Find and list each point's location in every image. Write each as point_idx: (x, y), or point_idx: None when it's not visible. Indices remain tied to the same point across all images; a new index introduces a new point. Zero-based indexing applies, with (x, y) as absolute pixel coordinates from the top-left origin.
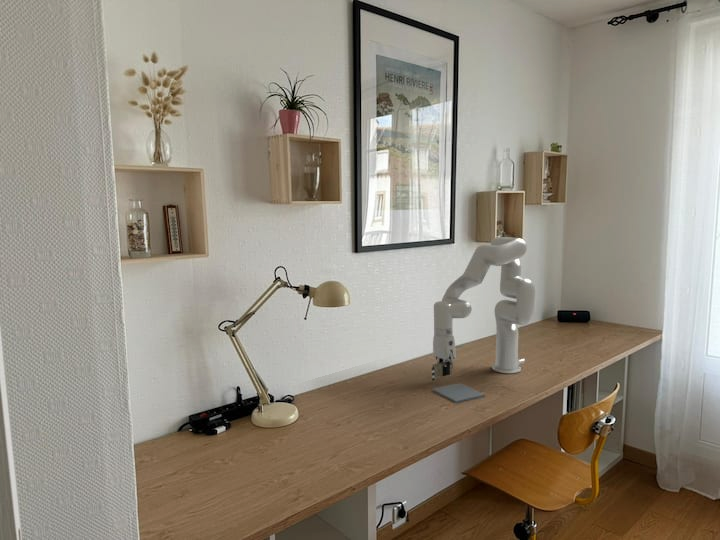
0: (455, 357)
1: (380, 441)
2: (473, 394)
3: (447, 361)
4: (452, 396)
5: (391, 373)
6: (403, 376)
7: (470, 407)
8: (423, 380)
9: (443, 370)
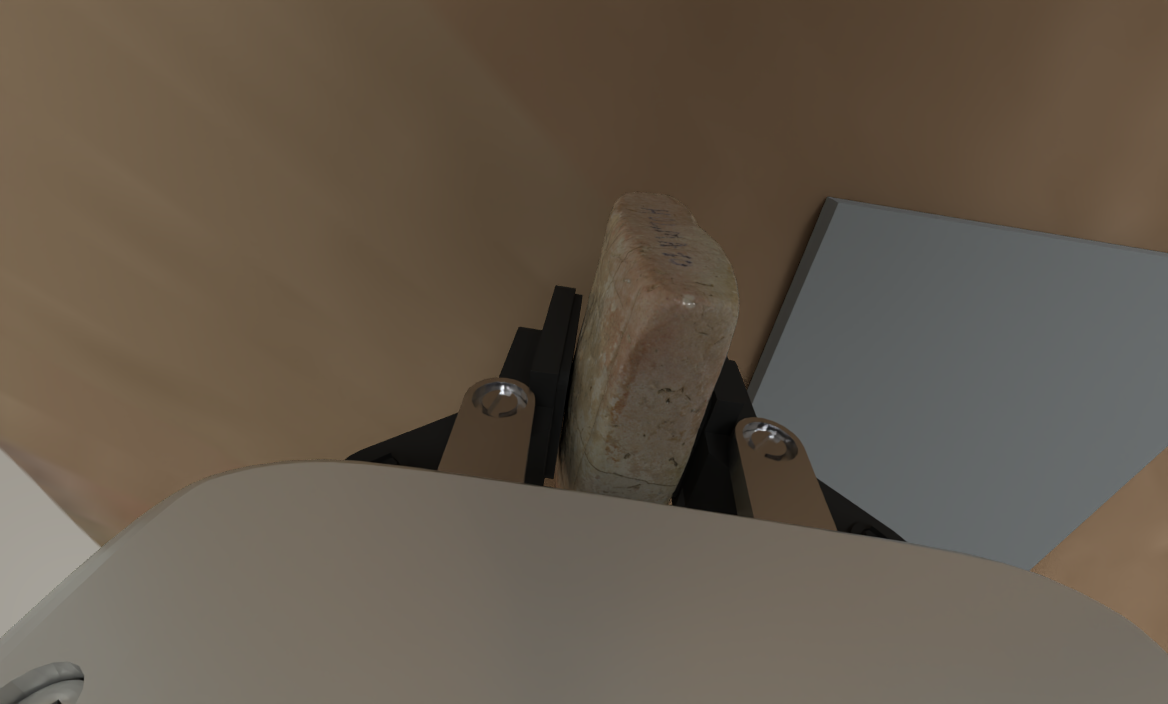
0: (1163, 668)
1: None
2: (1164, 384)
3: (650, 422)
4: (952, 531)
5: (147, 466)
6: (259, 448)
7: (1164, 546)
8: (441, 398)
9: None
